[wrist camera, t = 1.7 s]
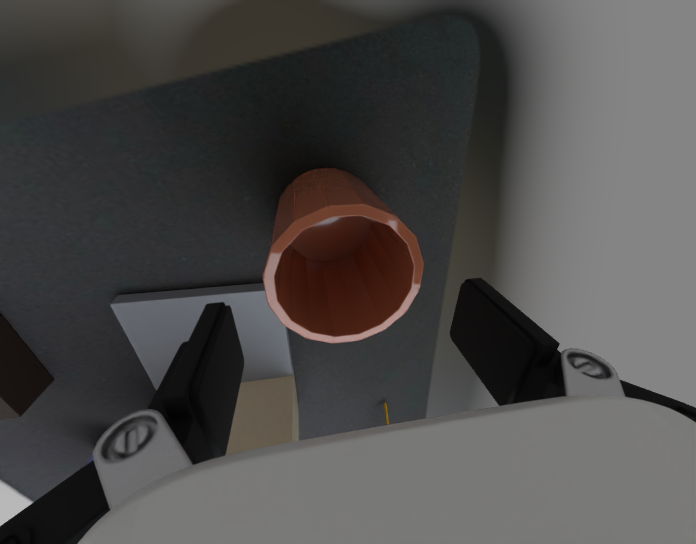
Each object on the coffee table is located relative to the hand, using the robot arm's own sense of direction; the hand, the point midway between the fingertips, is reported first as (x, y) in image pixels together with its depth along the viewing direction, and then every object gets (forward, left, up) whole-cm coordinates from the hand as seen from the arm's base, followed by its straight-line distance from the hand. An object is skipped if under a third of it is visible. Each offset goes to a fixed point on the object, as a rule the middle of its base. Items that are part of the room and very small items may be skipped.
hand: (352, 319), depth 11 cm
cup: (0, 0, -11) cm, 11 cm away
